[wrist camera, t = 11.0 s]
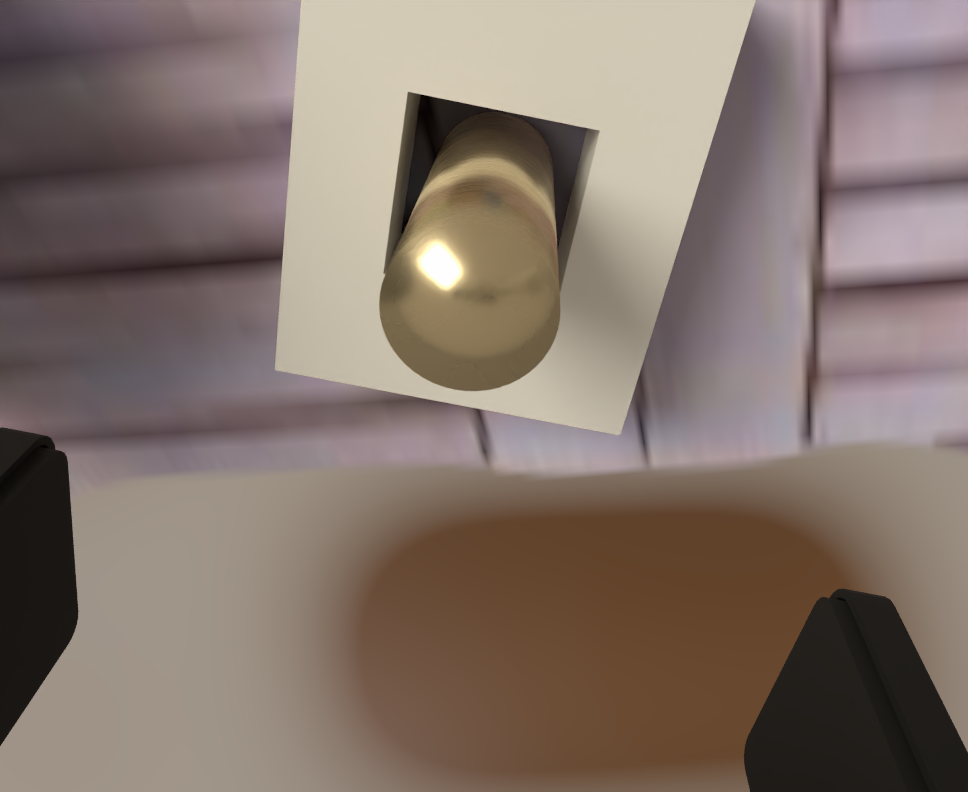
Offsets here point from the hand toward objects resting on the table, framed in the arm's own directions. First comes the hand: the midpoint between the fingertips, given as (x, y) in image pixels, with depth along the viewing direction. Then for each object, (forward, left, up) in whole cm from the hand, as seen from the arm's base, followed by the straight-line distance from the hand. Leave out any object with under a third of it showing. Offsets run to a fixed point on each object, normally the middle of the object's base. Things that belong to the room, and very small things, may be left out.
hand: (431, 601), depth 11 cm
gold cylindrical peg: (0, 0, -21) cm, 21 cm away
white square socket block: (0, 0, -21) cm, 21 cm away
